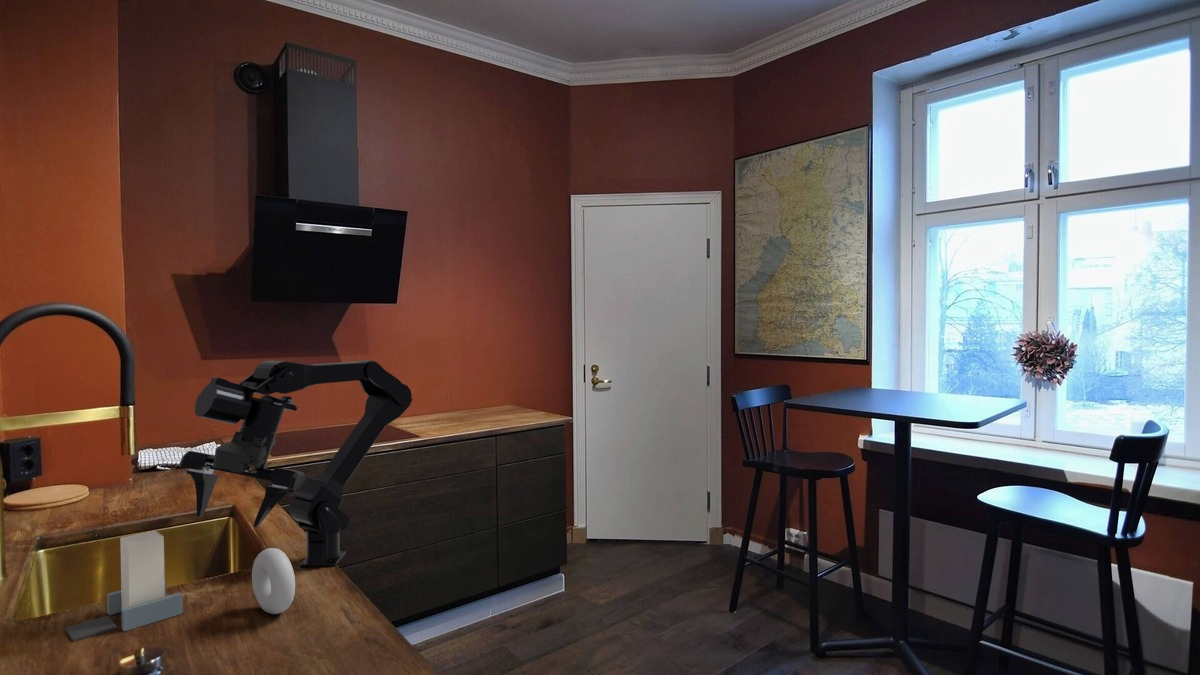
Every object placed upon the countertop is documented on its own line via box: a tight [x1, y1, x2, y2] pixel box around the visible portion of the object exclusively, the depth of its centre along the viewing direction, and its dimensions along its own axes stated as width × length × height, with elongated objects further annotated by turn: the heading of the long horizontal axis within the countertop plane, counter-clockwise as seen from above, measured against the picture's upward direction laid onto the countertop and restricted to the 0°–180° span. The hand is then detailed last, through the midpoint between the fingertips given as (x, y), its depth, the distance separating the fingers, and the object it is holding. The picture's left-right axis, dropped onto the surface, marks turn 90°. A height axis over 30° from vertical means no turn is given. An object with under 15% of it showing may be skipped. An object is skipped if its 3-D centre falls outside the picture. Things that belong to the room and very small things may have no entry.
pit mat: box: [64, 615, 118, 642], centre depth 92 cm, size 5×6×1 cm
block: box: [119, 530, 165, 608], centre depth 97 cm, size 4×4×12 cm
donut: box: [251, 547, 296, 615], centre depth 97 cm, size 10×3×10 cm, turn 51°
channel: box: [106, 579, 184, 632], centre depth 97 cm, size 8×9×3 cm
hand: (227, 521), depth 105 cm, fingers open, 9 cm apart
